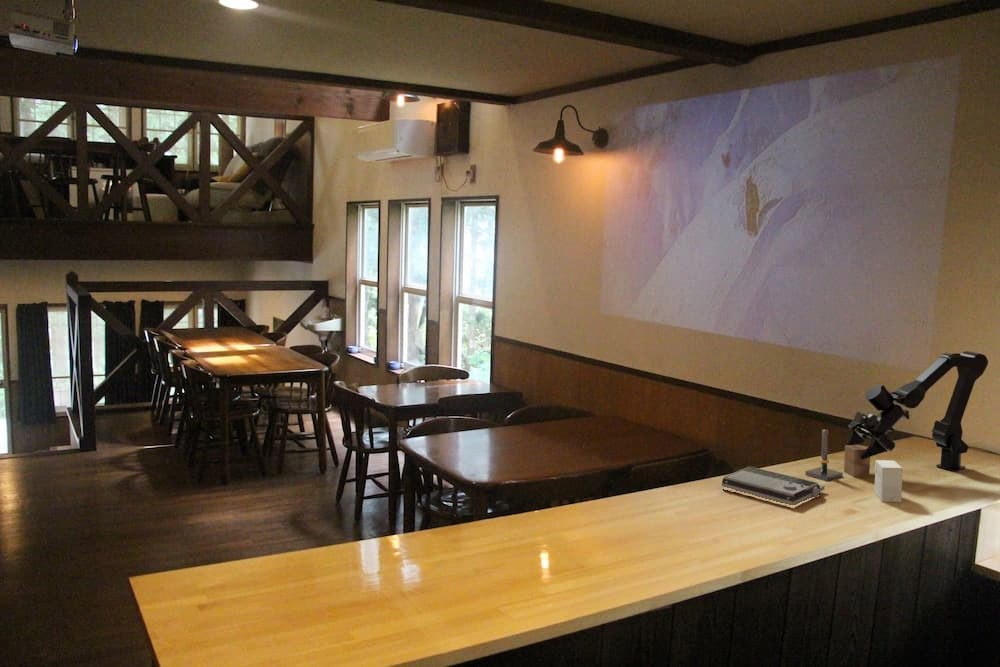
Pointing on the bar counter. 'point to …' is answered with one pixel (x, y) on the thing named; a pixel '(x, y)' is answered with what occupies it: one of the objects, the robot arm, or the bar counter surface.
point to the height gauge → (824, 463)
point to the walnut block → (856, 461)
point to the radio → (772, 485)
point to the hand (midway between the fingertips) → (853, 454)
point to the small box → (888, 481)
